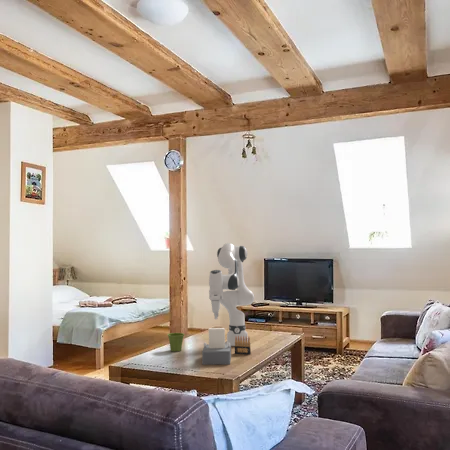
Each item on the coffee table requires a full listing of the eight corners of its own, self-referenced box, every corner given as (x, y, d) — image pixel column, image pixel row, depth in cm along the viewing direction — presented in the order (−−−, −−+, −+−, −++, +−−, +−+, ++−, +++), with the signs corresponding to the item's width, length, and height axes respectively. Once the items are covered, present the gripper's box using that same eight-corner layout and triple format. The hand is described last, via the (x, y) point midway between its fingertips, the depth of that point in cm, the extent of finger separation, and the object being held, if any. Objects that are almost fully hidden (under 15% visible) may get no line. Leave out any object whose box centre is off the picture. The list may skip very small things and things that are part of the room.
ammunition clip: (234, 353, 338) (234, 335, 339) (235, 353, 340) (235, 335, 340) (250, 354, 335) (249, 336, 335) (250, 354, 337) (250, 335, 337)
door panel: (209, 347, 322) (209, 328, 323) (225, 347, 322) (224, 328, 322) (208, 348, 319) (208, 329, 320) (224, 348, 319) (224, 328, 319)
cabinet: (205, 356, 331) (204, 339, 331) (231, 356, 330) (230, 339, 330) (202, 364, 310) (202, 346, 310) (230, 364, 309) (229, 346, 310)
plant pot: (182, 352, 344) (181, 336, 344) (165, 352, 346) (165, 335, 346) (186, 349, 355) (186, 332, 355) (170, 348, 357) (170, 332, 358)
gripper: (212, 294, 332) (212, 315, 331) (210, 297, 311) (210, 320, 311) (221, 294, 332) (222, 315, 331) (220, 297, 311) (220, 320, 311)
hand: (216, 317), depth 321 cm, fingers open, 8 cm apart
